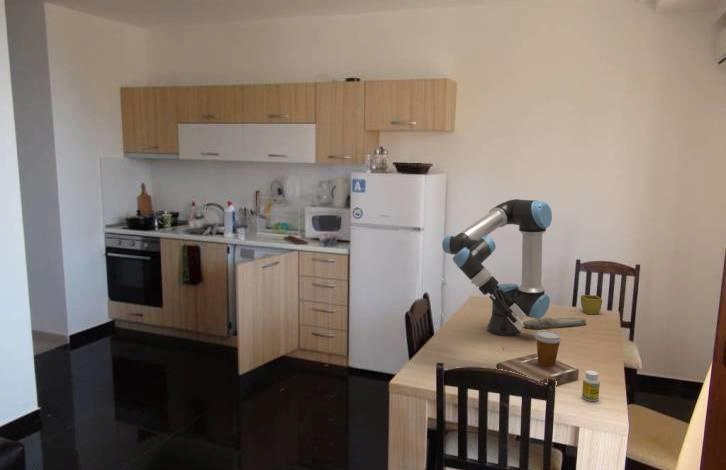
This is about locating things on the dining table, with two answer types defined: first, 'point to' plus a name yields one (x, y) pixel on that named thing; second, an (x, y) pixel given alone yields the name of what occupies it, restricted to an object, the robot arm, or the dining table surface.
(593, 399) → the supplement bottle
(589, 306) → the flower pot
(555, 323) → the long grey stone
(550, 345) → the disposable coffee cup
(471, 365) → the dining table surface
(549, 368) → the dock
